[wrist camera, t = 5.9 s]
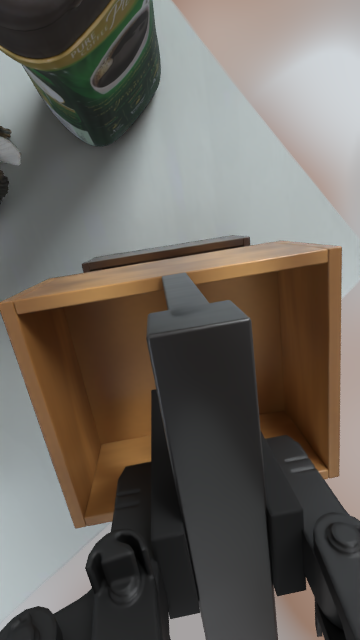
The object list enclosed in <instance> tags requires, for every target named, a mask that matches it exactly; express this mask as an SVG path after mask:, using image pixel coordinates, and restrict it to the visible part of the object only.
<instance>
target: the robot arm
mask: <svg viewBox="0 0 360 640" xmlns="http://www.w3.org/2000/svg"><path fill="white" fill-rule="evenodd" d="M261 442H262V454H263V466H264V478H265V490H266V502H267V515H268V527H269V539H270V551H271V563H272V575H273V585H274V588H275V591H276V594H277V596H281V595H285V594H290V593H295V592H299V591H304V590H306V578H307V581H308V583H309V585H310V587H311V590H312V592H313V594H314V596H315V625H316V631H317V637H319V636H322V632H323V635H324V638H325V640H360V521H359V520H358V519H356V518H355V517H352V516H350V515H349V514H348V513H347V512H346V510H345V509H344V508H343V506H342V505H341V504H340V502H339V501H338V499H337V498H336V496H335V495H334V493H333V492H332V490H331V489H330V488H329V486H328V485H327V483H326V482H325V480H324V479H323V477H322V476H321V474H320V473H319V471H318V470H317V469H316V468H315V466H314V464H313V463H312V461H311V460H310V458H308V455H307V454H306V452H305V451H304V450H303V448H302V447H301V445H300V444H299V443H298V442H296V441H295V440H294V439H292V438H291V437H289V436H288V435H282V436H276V437H271V438H266V439H265V438H264V436H263V434H262V432H261ZM114 507H115V509H114V513H113V520H112V528H111V532H110V533H108V534H106V535H105V536H104V537H103V538H102V539H101V540H99V541H98V542H97V543H96V544H95V546H94V548H93V549H92V551H91V553H90V554H89V556H88V560H87V563H86V567H85V569H86V571H87V574H88V577H89V580H90V583H91V586H92V589H91V590H90V591H89V592H88V593H87V594H85V595H84V596H82V597H81V598H80V599H78V600H77V601H75V602H73V603H72V604H70V605H68V606H66V607H65V608H63V609H61V610H60V611H58V612H56V613H54V614H52V613H51V611H50V610H49V609H48V608H44V607H39V606H37V607H34V608H30V609H26V610H25V611H23V612H22V613H20V614H19V615H17V616H16V617H14V618H13V619H12V620H11V621H10V622H9V623H8V624H7V625H6V626H5V627H4V628H3V629H2V630H1V632H0V640H171V639H170V635H169V616H170V619H173V618H178V617H182V616H187V615H192V614H196V613H200V608H199V600H198V595H197V590H196V585H195V580H194V575H193V570H192V565H191V560H190V555H189V550H188V545H187V540H186V535H185V529H184V524H183V521H182V516H181V511H180V506H179V501H178V496H177V491H176V486H175V481H174V476H173V471H172V466H171V461H170V456H169V451H168V446H167V441H166V436H165V431H164V426H163V421H162V416H161V411H160V406H159V400H158V395H157V390H156V389H154V390H151V462H145V463H140V464H135V465H130V466H126V467H125V468H124V470H123V472H122V474H121V475H120V477H119V479H118V483H117V491H116V498H115V506H114ZM168 612H169V614H168Z"/></svg>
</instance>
